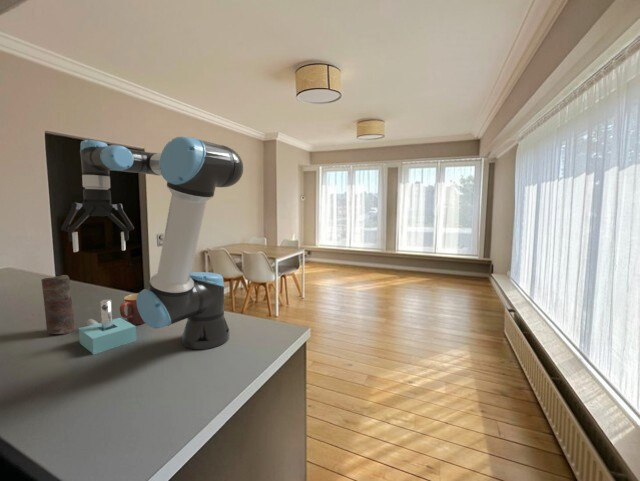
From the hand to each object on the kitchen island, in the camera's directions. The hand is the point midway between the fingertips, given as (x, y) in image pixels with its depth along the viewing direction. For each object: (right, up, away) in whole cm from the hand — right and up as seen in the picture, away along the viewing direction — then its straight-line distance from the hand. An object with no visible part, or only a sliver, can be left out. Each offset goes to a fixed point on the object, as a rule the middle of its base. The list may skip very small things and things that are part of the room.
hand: (100, 250), depth 104 cm
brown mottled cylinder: (-15, -29, +1) cm, 32 cm away
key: (+6, -30, -5) cm, 31 cm away
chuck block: (+2, -29, -2) cm, 30 cm away
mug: (+6, -28, +10) cm, 30 cm away
